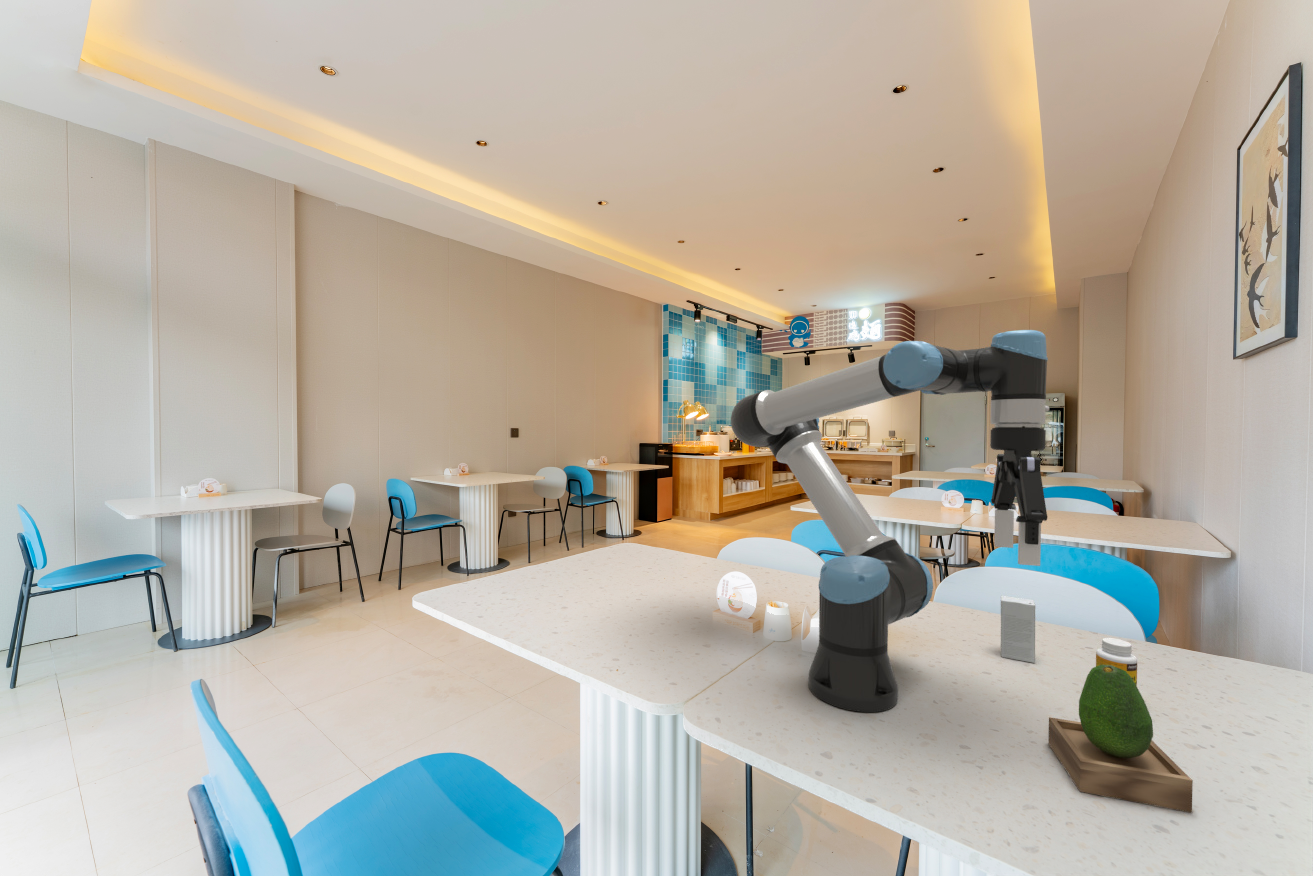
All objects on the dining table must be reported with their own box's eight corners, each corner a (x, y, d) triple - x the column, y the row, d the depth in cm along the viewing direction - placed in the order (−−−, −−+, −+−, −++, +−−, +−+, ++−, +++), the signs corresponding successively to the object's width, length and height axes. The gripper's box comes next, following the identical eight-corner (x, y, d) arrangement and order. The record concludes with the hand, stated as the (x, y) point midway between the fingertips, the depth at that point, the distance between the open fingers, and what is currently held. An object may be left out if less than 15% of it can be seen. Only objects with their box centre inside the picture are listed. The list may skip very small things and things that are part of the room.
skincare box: (1034, 656, 113) (1035, 599, 113) (1035, 664, 109) (1036, 605, 109) (999, 650, 116) (1000, 595, 116) (999, 657, 113) (1000, 600, 112)
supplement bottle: (1130, 710, 91) (1131, 650, 91) (1090, 697, 96) (1091, 639, 96) (1141, 701, 94) (1142, 643, 94) (1102, 688, 99) (1102, 633, 99)
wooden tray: (1080, 791, 70) (1080, 761, 70) (1048, 743, 81) (1048, 717, 81) (1191, 812, 67) (1192, 780, 66) (1142, 759, 77) (1143, 731, 77)
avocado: (1069, 733, 79) (1070, 651, 78) (1136, 745, 76) (1138, 660, 75) (1090, 764, 71) (1091, 674, 71) (1166, 779, 68) (1167, 685, 68)
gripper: (1076, 425, 75) (1073, 576, 76) (1020, 427, 99) (1018, 542, 99) (1013, 425, 78) (1011, 571, 78) (973, 427, 101) (972, 539, 102)
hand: (1015, 555), depth 89 cm, fingers open, 13 cm apart
